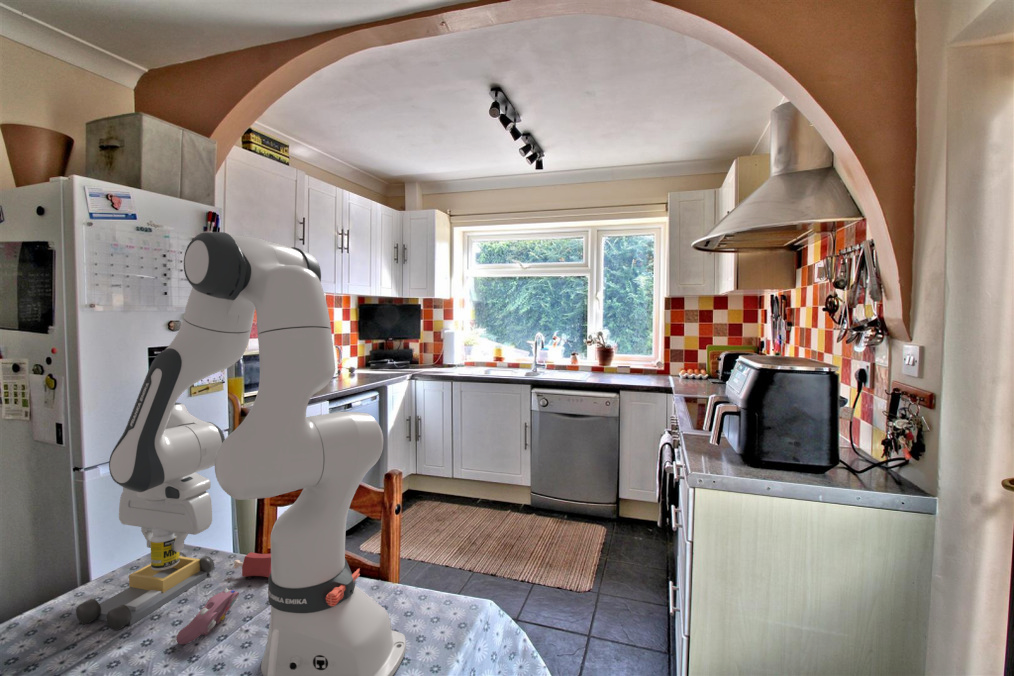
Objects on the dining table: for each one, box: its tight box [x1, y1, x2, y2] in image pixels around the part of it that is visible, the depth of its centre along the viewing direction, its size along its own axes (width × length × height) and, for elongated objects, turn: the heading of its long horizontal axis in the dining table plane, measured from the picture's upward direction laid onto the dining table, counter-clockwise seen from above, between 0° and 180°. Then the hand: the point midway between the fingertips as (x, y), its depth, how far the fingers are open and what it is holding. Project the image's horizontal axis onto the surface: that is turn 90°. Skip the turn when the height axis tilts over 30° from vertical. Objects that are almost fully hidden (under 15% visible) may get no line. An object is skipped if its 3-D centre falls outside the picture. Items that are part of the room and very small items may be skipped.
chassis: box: [75, 551, 215, 631], centre depth 93 cm, size 11×19×4 cm, turn 167°
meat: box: [233, 551, 271, 578], centre depth 100 cm, size 12×5×5 cm, turn 87°
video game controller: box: [175, 587, 240, 645], centre depth 84 cm, size 10×5×7 cm, turn 178°
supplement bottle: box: [150, 528, 180, 571], centre depth 97 cm, size 5×5×8 cm
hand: (165, 548), depth 97 cm, fingers closed on supplement bottle, 5 cm apart
